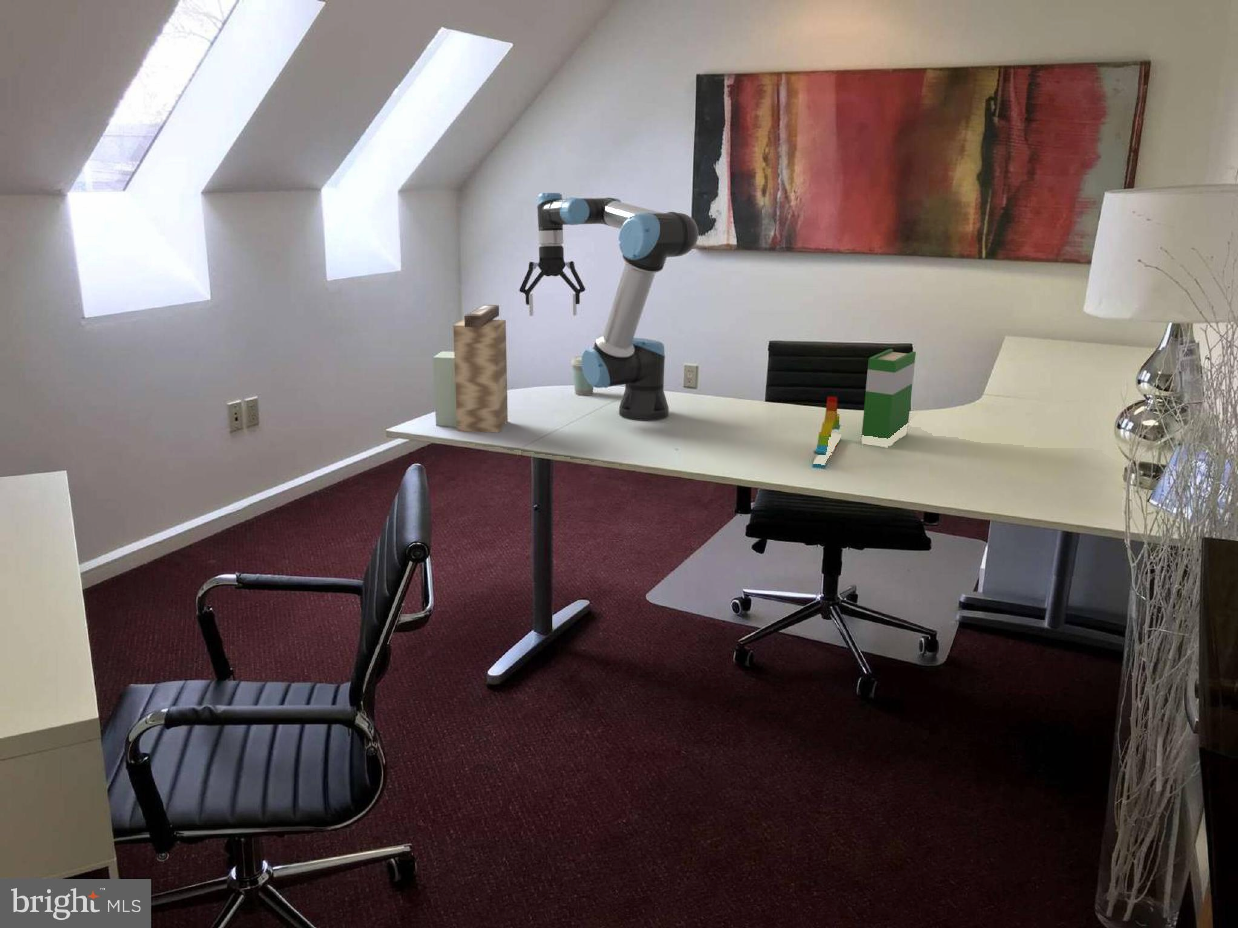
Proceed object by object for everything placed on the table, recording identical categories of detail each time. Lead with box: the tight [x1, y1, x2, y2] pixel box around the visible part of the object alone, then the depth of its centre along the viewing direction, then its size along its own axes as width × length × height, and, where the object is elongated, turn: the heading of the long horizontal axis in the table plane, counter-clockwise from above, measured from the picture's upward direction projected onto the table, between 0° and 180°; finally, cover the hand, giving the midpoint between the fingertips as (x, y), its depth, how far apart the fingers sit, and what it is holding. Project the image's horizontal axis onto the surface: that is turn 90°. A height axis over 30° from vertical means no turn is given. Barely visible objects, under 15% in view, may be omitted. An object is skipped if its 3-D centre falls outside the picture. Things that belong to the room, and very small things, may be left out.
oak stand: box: [452, 319, 509, 433], centre depth 274 cm, size 12×12×30 cm
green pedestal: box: [432, 351, 457, 427], centre depth 279 cm, size 7×9×20 cm
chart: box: [812, 396, 841, 470], centre depth 256 cm, size 30×3×15 cm, turn 160°
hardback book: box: [861, 348, 917, 439], centre depth 268 cm, size 18×7×24 cm, turn 147°
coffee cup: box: [571, 355, 594, 396], centre depth 318 cm, size 9×8×12 cm
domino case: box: [463, 304, 500, 327], centre depth 272 cm, size 4×22×3 cm, turn 174°
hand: (553, 315), depth 299 cm, fingers open, 13 cm apart
